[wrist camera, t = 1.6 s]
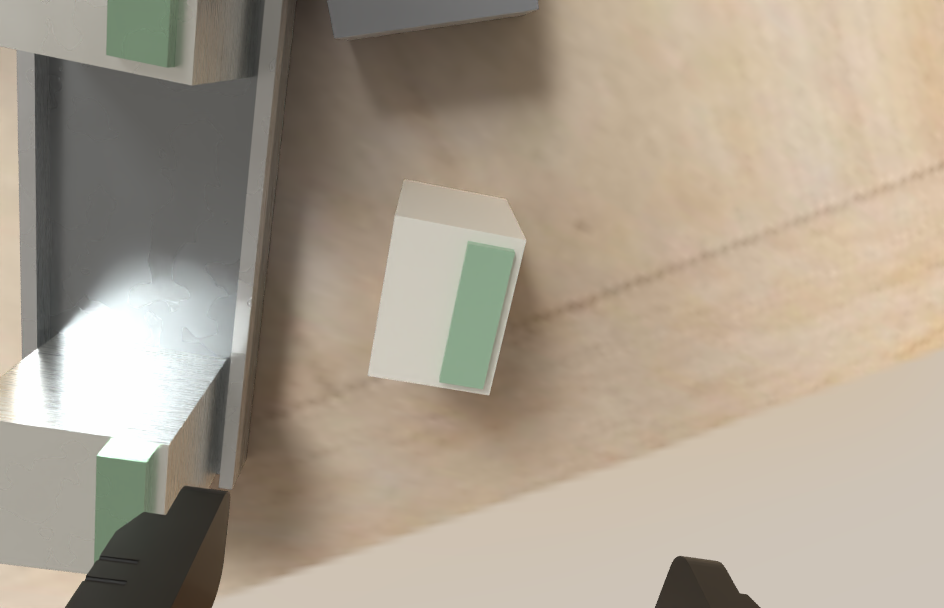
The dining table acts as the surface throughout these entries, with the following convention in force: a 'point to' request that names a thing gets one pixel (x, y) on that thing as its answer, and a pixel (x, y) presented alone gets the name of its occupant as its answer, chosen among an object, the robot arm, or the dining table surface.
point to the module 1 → (416, 15)
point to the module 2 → (446, 288)
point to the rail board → (135, 258)
